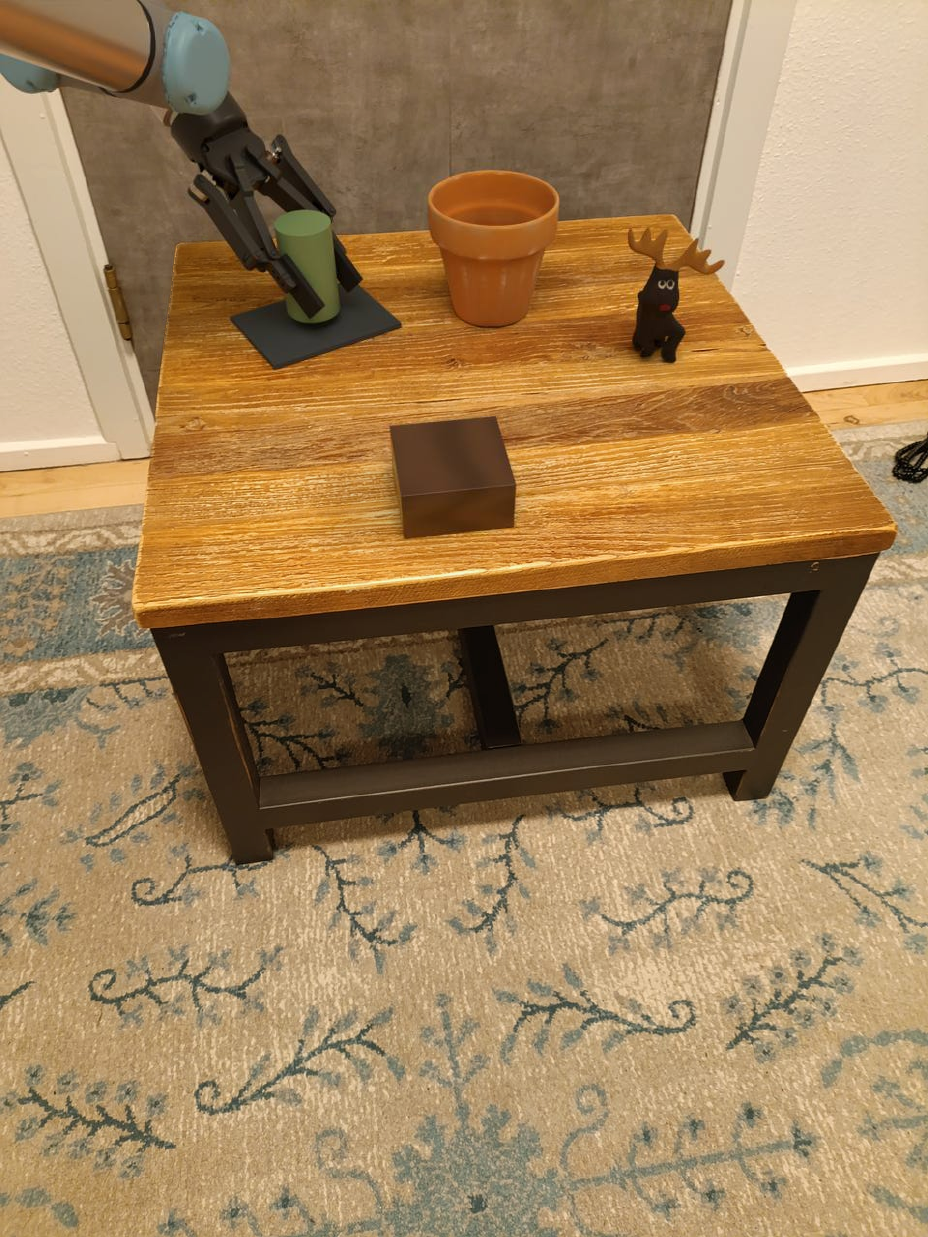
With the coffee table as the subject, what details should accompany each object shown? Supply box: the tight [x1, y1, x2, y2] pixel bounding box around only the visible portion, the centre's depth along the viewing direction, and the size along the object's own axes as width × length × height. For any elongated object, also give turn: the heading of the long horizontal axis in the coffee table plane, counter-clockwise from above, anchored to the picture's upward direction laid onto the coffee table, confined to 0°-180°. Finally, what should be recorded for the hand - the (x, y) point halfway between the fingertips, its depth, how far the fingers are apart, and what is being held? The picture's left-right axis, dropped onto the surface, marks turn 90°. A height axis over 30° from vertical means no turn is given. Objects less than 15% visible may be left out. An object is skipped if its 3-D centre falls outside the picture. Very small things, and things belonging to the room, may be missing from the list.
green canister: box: [273, 210, 340, 323], centre depth 98 cm, size 6×6×10 cm
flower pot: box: [427, 169, 561, 328], centre depth 101 cm, size 14×14×13 cm
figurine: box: [627, 227, 726, 363], centre depth 94 cm, size 11×7×15 cm
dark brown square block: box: [389, 415, 517, 539], centre depth 82 cm, size 10×10×5 cm
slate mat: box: [229, 282, 402, 371], centre depth 103 cm, size 16×12×1 cm
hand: (336, 298), depth 99 cm, fingers closed on green canister, 6 cm apart
